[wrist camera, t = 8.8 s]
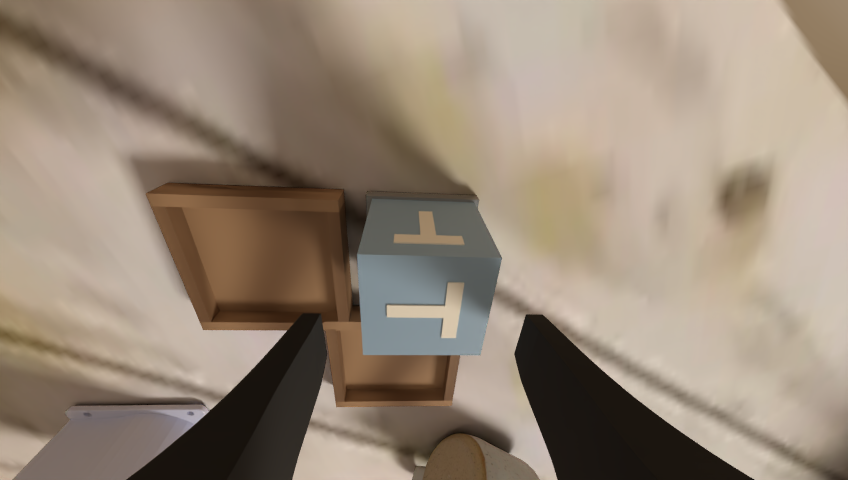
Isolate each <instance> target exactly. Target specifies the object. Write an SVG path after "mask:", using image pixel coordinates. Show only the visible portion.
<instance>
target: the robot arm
mask: <svg viewBox="0 0 848 480" xmlns="http://www.w3.org/2000/svg"><path fill="white" fill-rule="evenodd" d="M514 354H515V358H516V363H517V367H518V371H519V374H520V378H521V382H522V384H523V387H524V390H525V392H526V395H527V398H528V400H529V403H530V405H531V408H532V410H533V413H534V416H535V418H536V421H537V423H538V426H539V428H540V431H541V433H542V436H543V438H544V441H545V443H546V446H547V449H548V451H549V454H550V457H551V460H552V463H553V466H554V469H555V472H556V476H557V479H558V480H754V479H752V478H751V477H749V476H747V475H746V474H744V473H742V472H741V471H739V470H738V469H736V468H734V467H733V466H731V465H730V464H728V463H726V462H725V461H723V460H722V459H720V458H719V457H717V456H716V455H714V454H712V453H711V452H709V451H708V450H706V449H705V448H703V447H702V446H701V445H699V444H698V443H696V442H695V441H693V440H692V439H690V438H689V437H687V436H686V435H684V434H683V433H681V432H680V431H679V430H677V429H676V428H674V427H673V426H672V425H670V424H669V423H667V422H666V421H665V420H663V419H662V418H661V417H659V416H658V415H657V414H655V413H654V412H653V411H651V410H650V409H649V408H647V407H646V406H645V405H643V404H642V403H641V402H639V401H638V400H637V399H636V398H634V397H633V396H632V395H631V394H629V393H628V392H627V391H626V390H625V389H623V388H622V387H621V386H620V385H619V384H617V383H616V382H615V381H614V380H613V379H612V378H610V377H609V376H608V375H607V374H606V373H605V372H603V371H602V370H601V369H600V368H599V367H598V366H597V365H596V364H594V363H593V362H592V361H591V360H590V359H589V358H588V357H587V356H586V355H585V354H584V353H582V352H581V351H580V350H579V349H578V348H577V347H576V346H575V345H574V344H573V343H572V342H571V341H570V340H569V339H568V338H567V337H566V336H565V335H564V334H563V333H561V332H560V331H559V330H558V329H557V328H556V327H555V326H554V325H553V324H552V323H551V322H550V321H549V320H548V319H547V318H546V317H545V316H543V315H526V317H525V320H524V323H523V327H522V330H521V333H520V337H519V340H518V343H517V347H516V350H515V353H514ZM326 358H327V351H326V344H325V337H324V330H323V324H322V317H321V313H303V314H301V315H300V316H299V317H298V319H297V320H296V321H295V322H294V323H293V325H292V326H291V327H290V328H289V329H288V330H287V332H286V333H285V334H284V335H283V336H282V337H281V339H280V340H279V341H278V342H277V343H276V344H275V345H274V347H273V348H272V349H271V350H270V351H269V352H268V353H267V354H266V355H265V356H264V358H263V359H262V360H261V361H260V362H259V363H258V364H257V365H256V366H255V367H254V368H253V369H252V370H251V371H250V372H249V373H248V374H247V376H246V377H245V378H244V379H243V380H242V381H241V382H240V383H239V384H238V385H237V386H236V387H235V388H234V389H233V390H232V391H231V392H230V393H229V394H227V395H226V396H225V397H224V398H223V399H222V400H221V401H220V402H219V403H218V404H217V405H216V406H215V407H214V408H213V409H211V410H210V411H208V409H207V408H206V407H205V406H204V405H199V404H198V405H107V406H71V407H70V408H69V409H68V410H67V411H66V412H65V414H66V416H67V417H68V418H69V419H70V420H69V421H68V422H67V423H66V425H65V426H64V427H63V428H62V429H61V430H60V431H59V432H58V433H57V434H56V435H55V436H54V437H53V438H52V439H51V440H50V441H49V442H48V443H47V444H46V445H45V446H44V447H43V448H42V450H41V451H40V452H39V453H38V454H37V455H36V456H35V457H34V458H33V459H32V460H31V461H30V462H29V463H28V464H27V465H26V466H25V467H24V468H23V469H22V470H21V471H20V472H19V473H18V474H17V476H16V477H15V478H14V479H13V480H292V478H293V474H294V470H295V467H296V463H297V459H298V456H299V453H300V450H301V446H302V443H303V440H304V437H305V434H306V431H307V428H308V425H309V421H310V418H311V415H312V412H313V409H314V406H315V403H316V399H317V396H318V393H319V390H320V386H321V383H322V378H323V373H324V368H325V363H326Z"/></svg>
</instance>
